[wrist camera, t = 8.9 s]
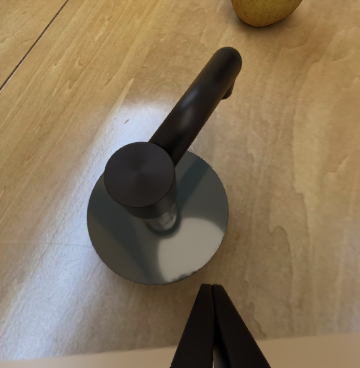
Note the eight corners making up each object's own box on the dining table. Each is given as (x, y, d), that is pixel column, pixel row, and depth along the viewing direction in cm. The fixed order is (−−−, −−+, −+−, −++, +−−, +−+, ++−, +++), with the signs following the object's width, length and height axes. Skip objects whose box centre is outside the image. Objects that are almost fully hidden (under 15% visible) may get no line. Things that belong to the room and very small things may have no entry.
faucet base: (239, 271, 18) (261, 274, 13) (94, 293, 18) (54, 306, 12) (211, 144, 22) (219, 106, 17) (93, 161, 22) (62, 129, 17)
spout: (157, 232, 14) (148, 222, 11) (111, 202, 15) (88, 184, 11) (248, 91, 18) (262, 49, 14) (206, 73, 19) (211, 29, 15)
